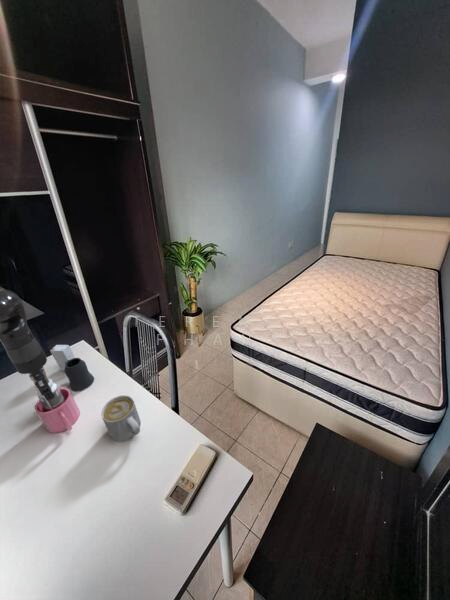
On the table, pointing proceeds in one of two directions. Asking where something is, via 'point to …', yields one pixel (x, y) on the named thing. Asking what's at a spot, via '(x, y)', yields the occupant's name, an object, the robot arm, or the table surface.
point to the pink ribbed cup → (59, 413)
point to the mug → (78, 374)
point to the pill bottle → (52, 403)
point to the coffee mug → (121, 418)
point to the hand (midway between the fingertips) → (48, 393)
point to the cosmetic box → (62, 355)
